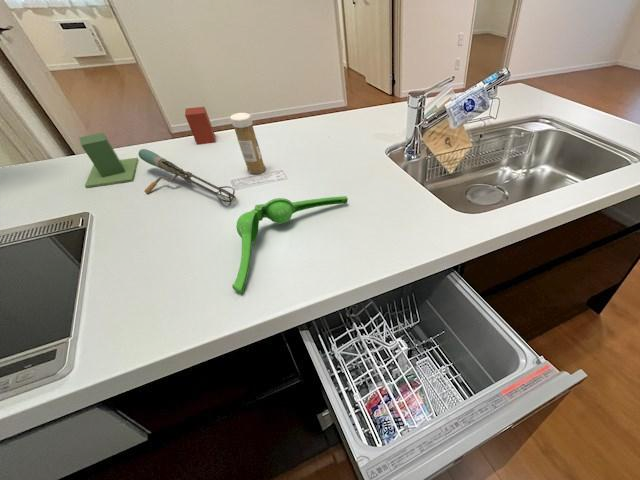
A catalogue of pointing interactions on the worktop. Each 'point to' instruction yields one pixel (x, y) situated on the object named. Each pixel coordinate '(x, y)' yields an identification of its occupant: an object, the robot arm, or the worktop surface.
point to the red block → (200, 125)
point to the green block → (102, 154)
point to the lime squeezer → (278, 213)
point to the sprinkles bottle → (248, 142)
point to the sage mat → (127, 176)
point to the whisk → (172, 168)
